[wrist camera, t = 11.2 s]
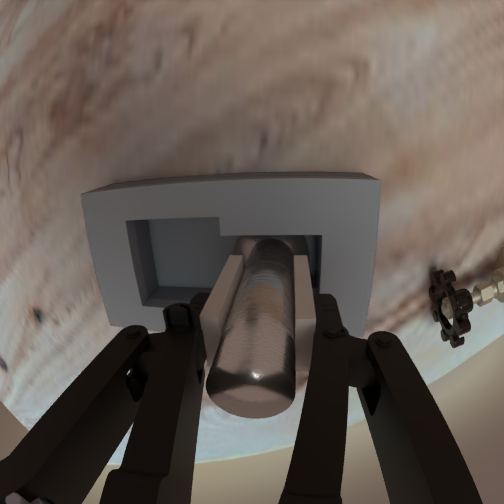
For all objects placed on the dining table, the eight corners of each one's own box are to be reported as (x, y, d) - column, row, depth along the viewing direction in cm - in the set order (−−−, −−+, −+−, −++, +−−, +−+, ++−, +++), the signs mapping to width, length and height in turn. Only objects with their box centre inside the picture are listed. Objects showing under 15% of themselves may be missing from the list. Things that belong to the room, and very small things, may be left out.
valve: (519, 223, 19) (425, 258, 22) (562, 246, 13) (462, 295, 15) (517, 282, 21) (429, 320, 24) (552, 312, 15) (457, 364, 17)
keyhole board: (132, 300, 26) (110, 325, 22) (111, 184, 22) (80, 193, 18) (353, 305, 24) (363, 336, 20) (362, 172, 20) (380, 180, 16)
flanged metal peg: (223, 252, 22) (149, 383, 10) (269, 201, 20) (239, 298, 8) (274, 295, 23) (257, 447, 10) (322, 249, 21) (360, 389, 9)
